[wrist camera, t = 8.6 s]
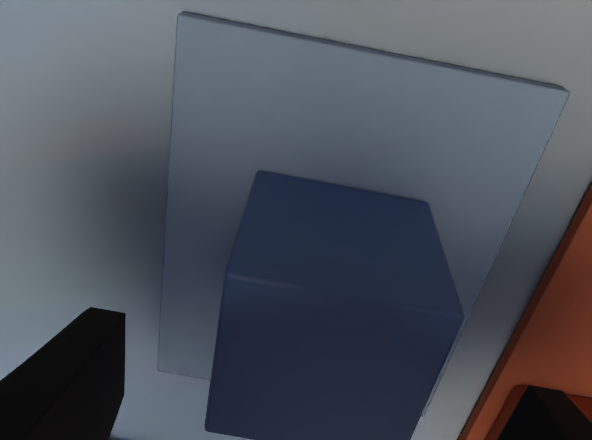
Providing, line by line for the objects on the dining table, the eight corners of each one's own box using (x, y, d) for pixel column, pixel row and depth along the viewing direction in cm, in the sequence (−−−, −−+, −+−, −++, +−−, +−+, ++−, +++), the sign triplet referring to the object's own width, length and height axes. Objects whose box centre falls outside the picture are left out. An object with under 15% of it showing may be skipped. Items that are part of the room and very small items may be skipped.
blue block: (384, 330, 14) (400, 466, 11) (236, 303, 14) (202, 433, 10) (429, 201, 12) (467, 317, 8) (257, 168, 12) (224, 272, 8)
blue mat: (421, 407, 16) (423, 418, 16) (160, 361, 16) (156, 371, 15) (564, 86, 11) (571, 92, 11) (181, 11, 11) (176, 14, 10)
